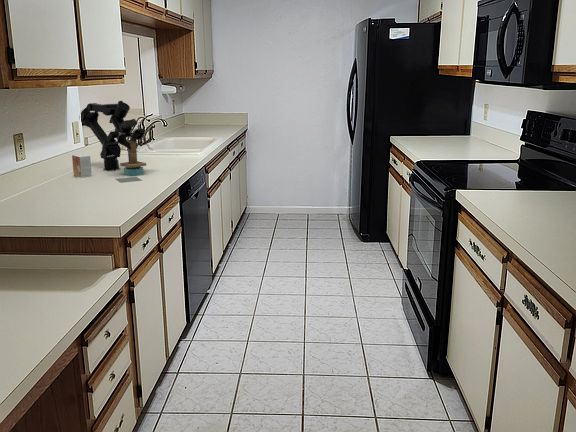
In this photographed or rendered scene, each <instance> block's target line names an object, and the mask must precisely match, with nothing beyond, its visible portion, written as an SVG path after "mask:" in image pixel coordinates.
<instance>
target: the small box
mask: <svg viewBox="0 0 576 432" xmlns="http://www.w3.org/2000/svg"><path fill="white" fill-rule="evenodd" d="M71 159H72V160H71V161H72V169H73V171H72V172H73V176H74V177H77V178H87V177H92V176H93V175H92V174H93V173H92V162H91V155H87V154H84V153H82V154H81V153H80V154H72V155H71Z"/></svg>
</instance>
